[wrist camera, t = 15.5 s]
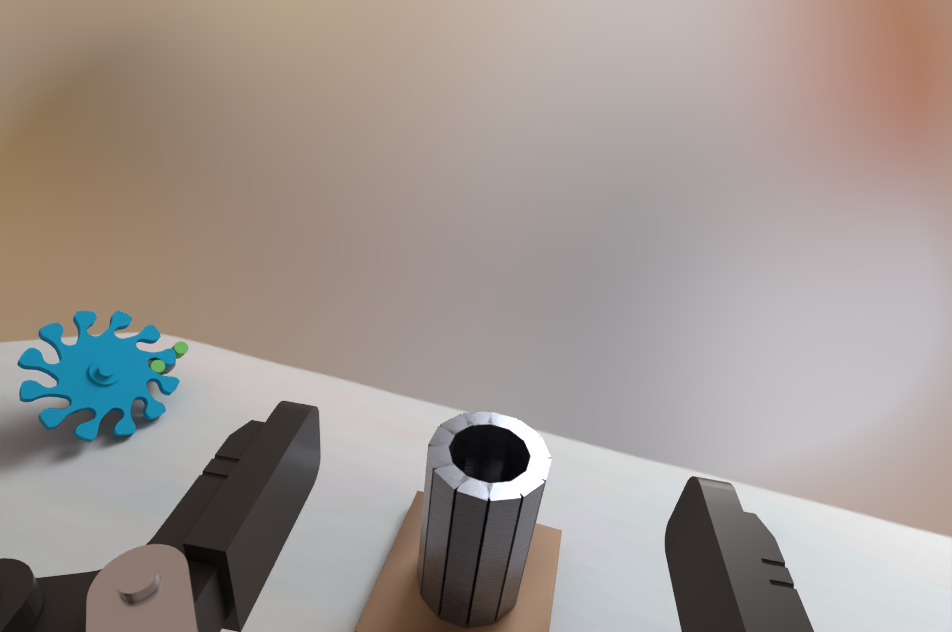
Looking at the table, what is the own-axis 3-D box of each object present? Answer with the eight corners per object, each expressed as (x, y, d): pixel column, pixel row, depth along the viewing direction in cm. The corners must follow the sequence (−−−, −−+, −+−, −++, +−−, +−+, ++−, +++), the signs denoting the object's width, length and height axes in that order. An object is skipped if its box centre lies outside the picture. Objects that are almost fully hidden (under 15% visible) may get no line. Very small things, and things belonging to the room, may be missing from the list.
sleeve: (465, 650, 28) (488, 522, 23) (397, 568, 32) (405, 442, 27) (540, 583, 32) (573, 460, 27) (472, 517, 35) (490, 398, 30)
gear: (44, 460, 35) (-3, 320, 36) (32, 474, 39) (-10, 347, 40) (213, 406, 43) (171, 293, 44) (190, 423, 47) (152, 319, 48)
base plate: (354, 643, 29) (354, 630, 28) (416, 502, 37) (417, 490, 37) (537, 703, 27) (541, 691, 27) (558, 542, 36) (561, 530, 35)
